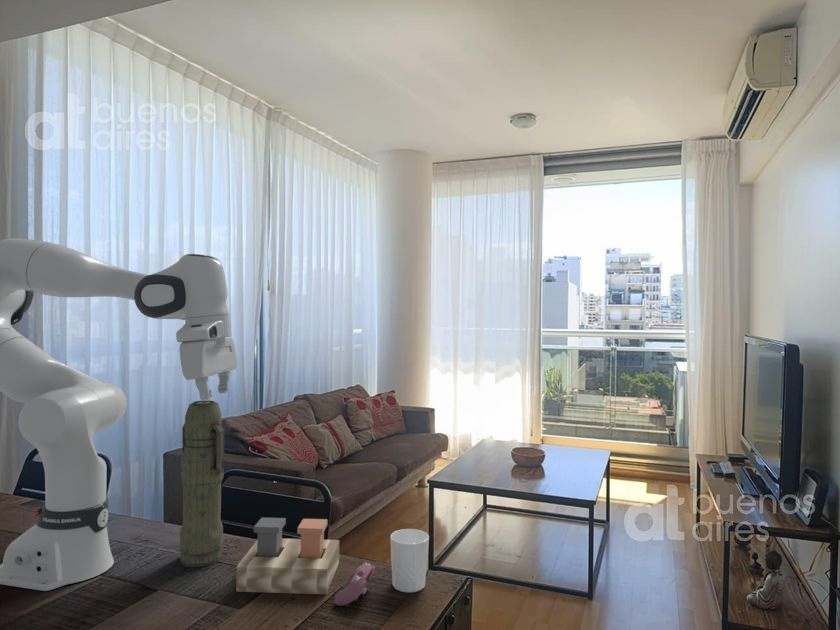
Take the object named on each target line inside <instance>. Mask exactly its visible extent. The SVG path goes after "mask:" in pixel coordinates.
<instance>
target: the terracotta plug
mask: <svg viewBox="0 0 840 630" xmlns="http://www.w3.org/2000/svg"><path fill="white" fill-rule="evenodd" d="M327 527H328V519H327V518H325V519H324V518H303V519H302V520H301V522H300V523H299V525H298V526H297V530H296V531H297V532H296V533H297V535H300V539H301V555H300V558H315V559H320V558H321V556H322V554H323V552H324V540H325V531H326V529H327Z"/></svg>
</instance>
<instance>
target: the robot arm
mask: <svg viewBox="0 0 840 630" xmlns="http://www.w3.org/2000/svg"><path fill="white" fill-rule="evenodd" d="M227 287H228V286H227V281H226V275H225V271H224V267H223V263H222V262H221V260H219V259H218V258H217V257H214V256H212V255H205V254H198V253H188V254H184V255H182V256H181V257H180V258H179V259H178V261H177V262H176V261H175V263H174V264H171V265H170V266H168V267H166V268H164V269H162V270H160V271H157V272H155V273H152V274H144V273H140V272H136V271H132V270H127V269H124V268H121V267H118V266H115V265H112V264H110V263H107V262H106V261H102V260H101V259H98V258H95V257H92V255H88V254H86V253H84V252H81V251H79V250H76V249H74V248H71V247H68V246H65V245H61V244H59V243H58V244H57V243H54V242H49V241H44V240H37V239H32V238H18V237H13V238H11V237H9V238H3V239H2V240H0V392H1V393H2V394H4V395H5V396H6V397H7V398H9V399H11V400H13V401H14V402H15V401H16V402H18V403H23V404H25V405H24V406H23V407H22V408H21V410H20V413H19V416H18V428H19V432H20V433H21V436H22V437H23V438H24V440H26V441H28V443H30V444H31V445H33V446H34V447H35V448H36V451H38V454H39V456H40V459H41V462H42V466H43V469H44V470H43V471H44V482H45V483H44V484H45V485H44V487H45V488H44V489H45V490H44V492H45V495H44V498H45V500H44V501H45V503H44V505H42V506H40V507H39V508H38V509H37V510H34V511H33V512H31V514H33V515H32V516H31V518H36V517H37V516H38V519H37V520H36V523H35V524H34V525H33V526H31V527H30V528H29V529H27V530H26V531H25V532H22V534H21V535H19V536H18V537H16V538H15V539H14V540H13V541H12V542H11V543H10V544H9V545H8V546H7V548H6V549H5V552H4V556H3V561H2V564H0V585H4V586H9V587H16V588H22V589H29V590H30V589H31V590H34V591H35V590H36V591H42V592H47V591H51V590H54V589H57V588H61V587H63V586H66V585H69V584H70V585H71V584H74V583H75V584H76V583H80V582H83V581H86V580H90V579H92V578H95V577H97V576H100V575H102V574H104V573H105V572H107V571H108V570H109V569H111V568H112V566H113V565H114V563H115V559H114V557H113V554H112V550H111V546H110V541H109V534H108V533H109V532H108V522H109V507H110V506H109V498H108V497H107V477H108V476H107V474H108V473H107V462H106V460H104V458H102V457H101V456H99V455H98V453H97V450H96V447H95V444H94V434H96V433H99V432H102V431H104V430H106V429H108V428H110V427H112V426H113V425H114V424H116V423H117V422H118V421H119V420H121V418H123V416H124V415H125V413H126V411H127V407H128V406H127V405H128V400H127V397H126V395H125V392H124V391H123V390H122V388H120V387H119V386H118V385H115V384H114V383H110V382H105V381H102V380H100V379H96V378H95V377H92V376H90V375H88V374H87V373H84V372H82V371H80V370H78V369H75V368H73V367H71V366H69V365H67V364H66V363H63V362H61V361H59V360H58V359H56V358H54V357H53V356H51V355H50V354H49V353H47V352H46V351H44V349H42V348H40V347H39V346H37V344H35V343H33V342H32V341H31V340H29V339H28V338H26V337H25V336H24V335H22V334H21V333H20V332H18V331H17V330H16V329H15V328H14V327H13V325H15V324H17V323H19V322H21V321H22V319H23V316H24V314H25V313H26V312H27V311H28V309H29V308H30V307H31V305H32V302H33V299H34V294H35V293H36V294H40V295H45V296H51V297H60V298H96V297H97V298H98V297H103V298H104V297H111V298H122V299H127V300H132V301H134V303H135V306H136V308H137V309H138V311H139V312H140V313H141V314H142V315H143V316H145V317H147V318H152V319H156V320H182V321H183V320H184V323H185V324H183V326H182V327H181V328H180V329H178V330H177V331H176V334H175V336H176V337H175V338H176V341H177V343H180V344H179V347H178V349H179V358H180V366H181V372H182V375H183V377H184V378H185V380H187V381H189V380H192V381H193V380H194V381H195V382H194V383H195V386H196V389H197V390H198V392H199V399H200V401H209V400H210V399H211V398H212V390H211V389H210V388H209V384H208V383H209V377H211V376H212V377H213V376H215V375H217V376H218V379H219V380H218V385H217V391H218V394H226V393H228V392H229V382H230V378H231V374H230V373H231V372H230V371H233V370H237V366H238V360H237V359H238V358H237V352H236V347H235V346H236V345H235V342H234V339H233V338H232V326H231V319H230V318H231V317H230V312H229V309H228V305H227V299H228V288H227Z"/></svg>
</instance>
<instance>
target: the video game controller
mask: <svg viewBox="0 0 840 630" xmlns="http://www.w3.org/2000/svg"><path fill="white" fill-rule="evenodd" d="M375 569H376V566H375V565H373V564H371V563H367V562H365V563H362V564H361V565H360V566H358V567H356V569H355V571H353V572H352V573H351V574H350V575H349V577H348V582H349V584H348V585H347V586H345V588H343V589H342V590H340V591H339V592H338V593H337V594H336V595H335V597H334V603H335V604H336V606H338V607H340V606H342V607H343V606H347V605H348V604H350V603H352V602H356V601H358V599H359V597H360V595H364V594H366V592H367V584H368V582H369V580H370V579H372V577H373V575H374V572H375Z"/></svg>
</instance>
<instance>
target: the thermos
mask: <svg viewBox="0 0 840 630" xmlns="http://www.w3.org/2000/svg"><path fill="white" fill-rule="evenodd" d="M181 429H182V432H181V433H182V455H181V463H180V466H181V467H180V470H181V471H180V475H181V476H180V482H181V484H182V487H183V488H182V489H183V491H182V492H183V493H182V497H183V498H182V526H181V528H180V531H179V551H180V560H179V562H180V564H181V565H183V566H184V567H186V568H201V567H202V568H203V567H207V566H210V565H214V564H215V563H217V562H219V561H220V560H221V559H222V556H223V552H222V547H223V544H224V525H223V522H222V520H221V512H222V510H221V509H222V507H221V506H222V482H223V479H224V469H225V468H224V467H225V466H224V465H225V443H226V442H225V437H226V436H225V434H226V431H225V429H224V426H223V425H222V410H221V408H220V405H219V403H218V402H216V401H215V400H196V401H193V402H191V403H189V404H188V407H187V410H186V413H185V416H184V423H183V425H182V428H181Z"/></svg>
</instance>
